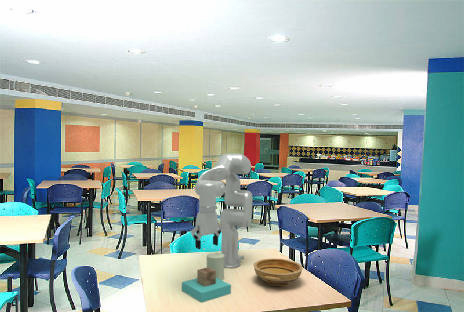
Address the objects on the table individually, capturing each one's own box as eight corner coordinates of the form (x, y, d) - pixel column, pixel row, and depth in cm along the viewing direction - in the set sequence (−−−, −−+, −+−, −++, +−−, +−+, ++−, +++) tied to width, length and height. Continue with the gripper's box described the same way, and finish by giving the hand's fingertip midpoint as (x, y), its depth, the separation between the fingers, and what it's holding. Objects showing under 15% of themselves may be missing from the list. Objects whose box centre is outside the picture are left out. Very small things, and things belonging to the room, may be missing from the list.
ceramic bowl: (261, 269, 198) (261, 254, 198) (306, 275, 190) (306, 260, 190) (245, 288, 170) (245, 271, 170) (297, 296, 162) (297, 279, 162)
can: (226, 276, 187) (227, 253, 186) (220, 282, 178) (220, 258, 178) (210, 273, 190) (210, 251, 189) (203, 279, 181) (203, 255, 181)
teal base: (210, 282, 177) (210, 274, 177) (230, 293, 165) (231, 284, 164) (181, 290, 167) (182, 281, 167) (201, 302, 154) (201, 293, 154)
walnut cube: (207, 279, 170) (208, 267, 170) (215, 283, 165) (215, 270, 165) (197, 282, 166) (197, 269, 166) (204, 286, 161) (205, 273, 161)
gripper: (217, 206, 174) (217, 241, 175) (186, 210, 163) (186, 248, 164) (227, 208, 169) (226, 245, 169) (196, 212, 157) (195, 252, 158)
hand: (206, 246), depth 166 cm, fingers open, 9 cm apart
